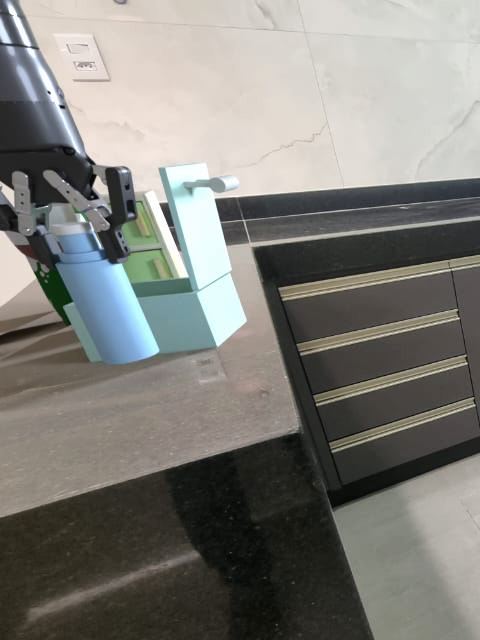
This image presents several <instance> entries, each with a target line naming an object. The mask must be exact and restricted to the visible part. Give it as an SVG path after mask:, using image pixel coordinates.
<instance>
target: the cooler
mask: <svg viewBox="0 0 480 640" xmlns="http://www.w3.org/2000/svg"><path fill="white" fill-rule="evenodd" d="M130 284H131V286H132V289H133V291H134V293H135V296H136V298H137V300H138V302H139V305H140V307H141V309H142V311H143V314H144V316H145V318H146V321H147V323H148V325H149V327H150V330H151V332H152V334H153V336H154V339H155V341H156V343H157V346H158V348H159V352H158V353H156V354H155V355H163V354H172V353H180V352H188V351H195V350H204V349H212V348H219V347H220V345H222V344H223V343H224V342H225V341H226V340H227V339H229V338H230V336H232V335H233V334H234V333H235V332H237V330H239V329H240V328H241V327H242V326H243V325H244V324H245V323H247V322H248V321H247V317H246V315H245V312H244V309H243V306H242V304H241V299H240V297H239V294H238V292H237V289H236V286H235V284H234V280H233V278H232V275H231V273H230V272H228V273H226V274H224V275H223V276H221V277H219V278H218V279H216V280H214V281H213V282H211V283H209V284H208V285H206V286H204V287H203V288H201V289H199V290H192V287H191V283H190V280H189V276H188V277H181V278H170V279H159V280H148V281H138V282H130ZM63 308H64V310H65V312H66V314H67V316H68V318H69V320H70V322H71V324H72V325H71V327H72V328H73V330H74V332H75V334H76V336H77V338H78V340H79V342H80V344H81V346H82V348H83V350H84V352H85V354H86V356H87V358H88V360H89V362H90V363H96V362H97V363H98V362H103V361H102V359H101V357H100V355H99V353H98V351H97V348H96V346H95V344H94V342H93V340H92V338H91V336H90V334H89V332H88V330H87V328H86V326H85V324H84V322H83V320H82V318H81V316H80V314H79V312H78V310H77V308H76V306H75V304H74V302H72V303H70V304H67V305H65V306H63ZM155 355H154V356H155Z"/></svg>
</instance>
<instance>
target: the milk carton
mask: <svg viewBox="0 0 480 640" xmlns="http://www.w3.org/2000/svg"><path fill="white" fill-rule="evenodd" d="M52 204H53V203H52ZM71 205H72V204H71ZM72 207H73V209H74V212H75V214H76V217H77V220H78V222H86V221H87V222H89V219H88V217H87V216H86V215H85V214H83V213H81V212H79V211H78V210H77V209H76V208H75V207H74V206H73V205H72ZM95 236H96V234H95ZM96 238H97V236H96ZM97 240H98V238H97ZM98 242H99V241H98ZM99 245H100V243H99ZM100 247H101V245H100ZM25 259H26V260H27V262H28V265H29V266H30V268H31V270H32V272H33V274H34V276H35V278H36V280H37V282H38V285H40V288H41V290H42V291H43V293H44V295H45V297H46V299H47V301H48V302H49V304H50V305H51V307H52V308H53V309H54V311H55V312H56V313H57V314H58V316H59V317H60V318H61V320H62V321H63V323H64V324H65V325H66V327H70V326H72V324H71V322H70V320H69V318H68V316H67V314H66V312H65V310H64V308H63V306H65V305H67V304H70V303H72V302H73V300H72V298H71V296H70V294H69V292H68V290H67V288H66V285H65V283H64V281H63V279H62V277H61V275H60V273H59V271H58V269H48V268H47V267H46V266H45V264H43V265H42V264H41V263H40V262H39V261H38V260H34V259H32V258H29V257H27V256H25Z"/></svg>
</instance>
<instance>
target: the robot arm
mask: <svg viewBox="0 0 480 640" xmlns="http://www.w3.org/2000/svg"><path fill="white" fill-rule="evenodd" d="M87 153H88V152H87V151H86V147H85V143H84V140H83V138H82V135H81V133H80V131H79V128H78V126H77V124H76V122H75V120H74V117H73V115H72V113H71V109H70V107H69V106H68V103H67V101H66V98H65V94H64V91H63V89H62V87H61V86H60V85H59V82H58V79H57V78H56V75H55V74H54V72H53V70H52V68H51V67H50V65H49V63H48V62H47V60H46V58H45V57H44V55H43V52H42V51H41V48H40V46H39V43H38V41H37V38H36V36H35V34H34V31H33V29H32V27H31V25H30V22H29V20H28V17H27V16H26V14H25V12H24V10H23V8H22V6H21V1H20V0H0V232H4V231H12V232H17V233H20V234H22V235H24V236H25V237H26V239H27V240H28V242H29V244H30V246H31V248H32V250H33V252H34V254H35V256H36V258H37V260H38V261H39V262H40V263H41V264H42V265H43V264H45V266H46V267H47V268H48V269H57V267H56V265H55V264H56V263H58V262H61V259H60V257H59V253H62V251H61V249H60V247H59V245H58V243H57V241H56V238H55V236H54V234H53V233H48V232H47V231H48V230H49V213H50V212H51V210H52V203H71V204H72V205H73V206H74V207H75V208H76V209H77V210H78V211H79V212H81V213H83V214H85V215H86V218H87V219H88V218H89V219H90V220H91V222H92V223H93V224H94V225H95V226H96V227H97V228H98V229H100V231H99V232H97V234H98V236H99V238H100V241H101V243H102V245H103V247H104V250H105V252H106V254H107V256H108V258H109V261H110V262H111V263H112V264H121V263H124V262H126V261H128V256H130V254H131V251H130V248H129V246H128V244H127V241H126V239H125V237H124V234H123V232H122V226H123V225H124V224H126V223H128V222H130V221H133V220H136V219H137V218H138V213H137V206H136V200H135V193H134V192H135V187H134V181H133V175H132V174H133V173H132V170H131V169H130V168H129V167H127V166H126V165H115V166H111V165H105V164H97V163H96V161H94V160H93V159H92V158H91V157H90V155H88V154H87ZM97 177H98V178H99V179H100V181H101V183H102V184H103V185H104V186H106V187H107V194H109V199H110V205H111V209H110V208H109V207H108V203H107V202H106V200H105V199H104V198H103V197H102V196H101V195H100V193H99V191H97V189H96V188H95V187H94V185H95V182H96V179H97ZM3 185H5V186H6V187H7V188H9V189H10V190H12V191H13V203H14V204H12V202H11V201H10V200H9V198H8V197H7V196H6V195H5V194H4V192H3V191H2V190H3ZM89 219H88V220H89Z"/></svg>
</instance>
